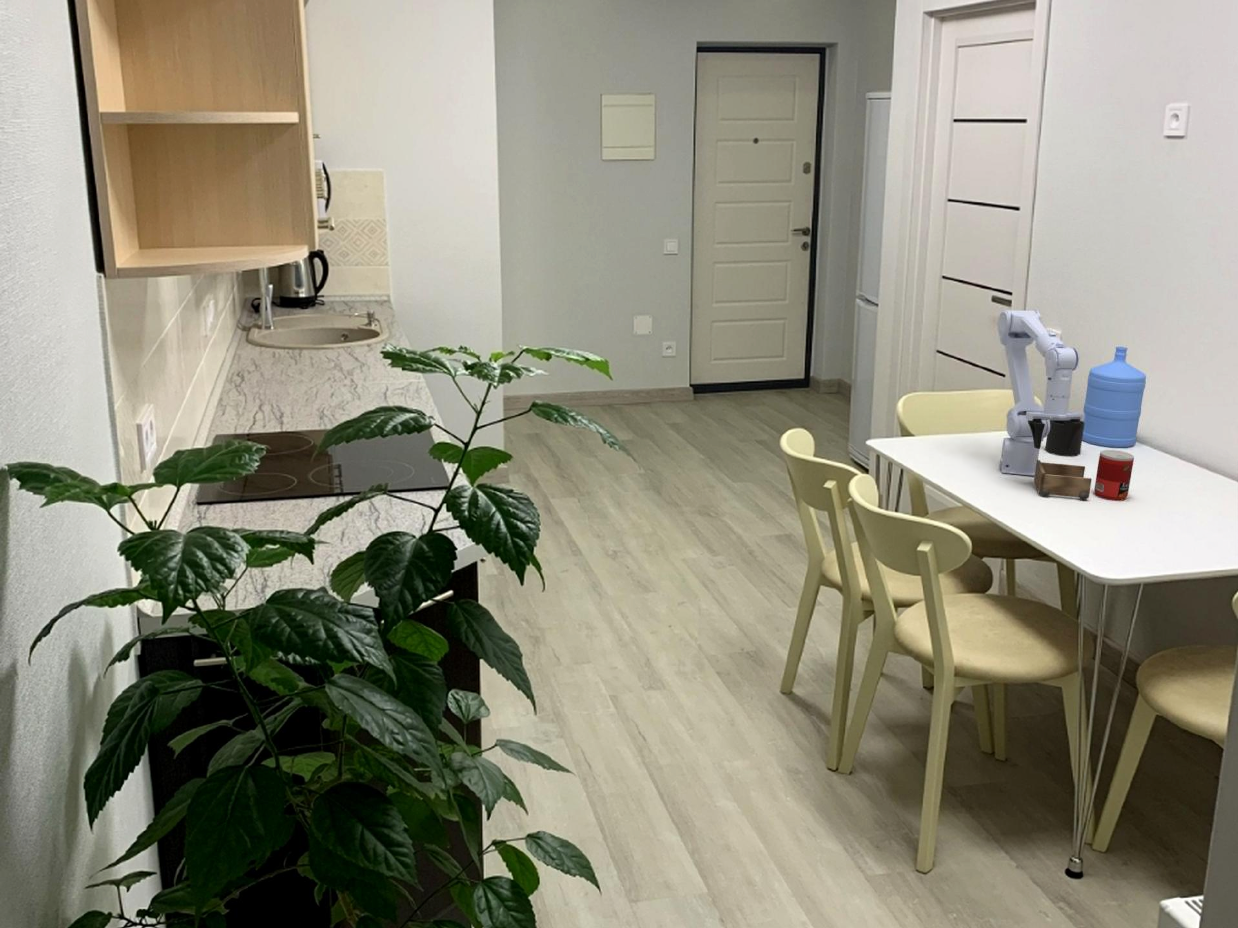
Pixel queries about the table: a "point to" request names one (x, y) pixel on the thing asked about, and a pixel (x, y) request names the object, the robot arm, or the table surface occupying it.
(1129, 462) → the canned food
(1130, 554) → the table surface
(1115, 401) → the water jug
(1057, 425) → the mug
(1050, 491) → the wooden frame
